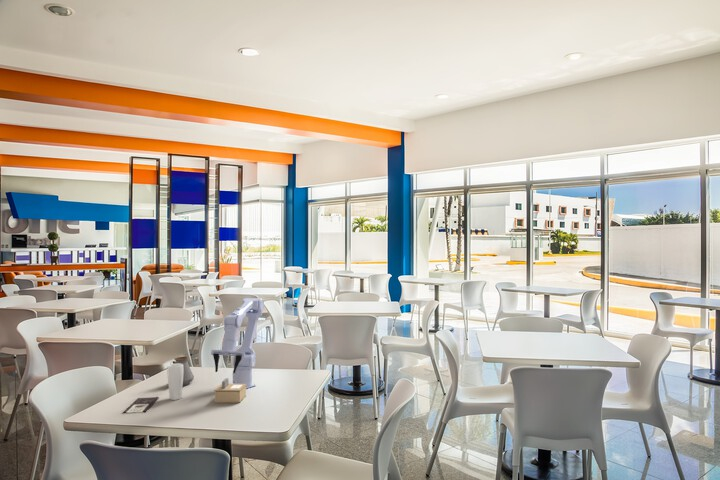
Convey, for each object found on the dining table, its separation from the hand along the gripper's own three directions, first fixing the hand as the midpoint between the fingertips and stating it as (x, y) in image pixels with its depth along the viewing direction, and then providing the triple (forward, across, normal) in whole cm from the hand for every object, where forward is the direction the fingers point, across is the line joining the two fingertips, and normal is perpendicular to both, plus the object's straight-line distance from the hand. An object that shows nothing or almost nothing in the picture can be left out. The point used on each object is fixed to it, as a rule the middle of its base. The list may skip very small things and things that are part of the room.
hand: (225, 372), depth 207 cm
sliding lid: (+6, +3, +4) cm, 8 cm away
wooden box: (+11, +4, +6) cm, 13 cm away
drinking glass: (+12, -21, +13) cm, 27 cm away
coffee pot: (+5, -23, +30) cm, 38 cm away
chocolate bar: (+16, -33, +7) cm, 38 cm away
